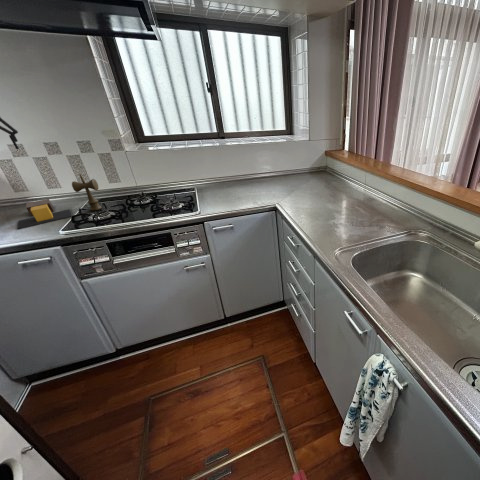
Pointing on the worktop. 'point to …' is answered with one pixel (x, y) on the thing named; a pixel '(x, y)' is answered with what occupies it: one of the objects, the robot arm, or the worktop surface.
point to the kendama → (88, 192)
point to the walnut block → (38, 203)
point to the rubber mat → (33, 221)
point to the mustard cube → (41, 212)
